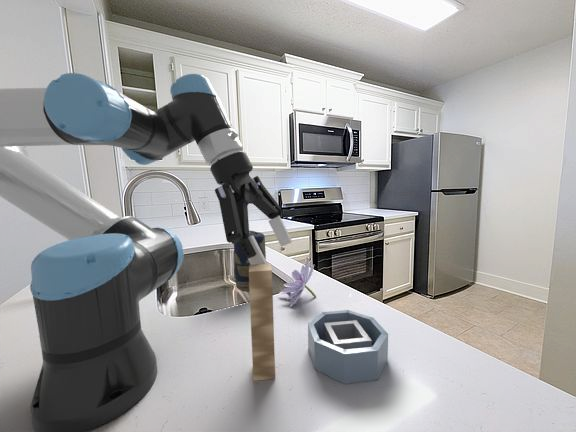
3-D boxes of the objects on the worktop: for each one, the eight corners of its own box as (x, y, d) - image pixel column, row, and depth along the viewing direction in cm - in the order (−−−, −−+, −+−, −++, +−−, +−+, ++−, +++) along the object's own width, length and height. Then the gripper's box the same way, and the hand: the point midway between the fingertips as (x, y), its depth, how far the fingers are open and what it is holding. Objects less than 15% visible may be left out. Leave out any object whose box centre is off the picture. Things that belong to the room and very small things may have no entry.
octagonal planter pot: (320, 387, 38) (320, 356, 37) (304, 336, 50) (304, 313, 50) (400, 377, 39) (400, 348, 39) (364, 330, 52) (365, 308, 51)
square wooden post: (253, 380, 39) (248, 271, 37) (253, 365, 43) (249, 264, 41) (275, 378, 39) (271, 270, 37) (273, 363, 43) (270, 263, 41)
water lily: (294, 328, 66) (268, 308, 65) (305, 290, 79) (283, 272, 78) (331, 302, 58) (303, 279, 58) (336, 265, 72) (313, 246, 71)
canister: (261, 295, 71) (259, 233, 69) (230, 293, 72) (227, 233, 70) (270, 282, 80) (268, 228, 78) (242, 281, 82) (240, 227, 80)
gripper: (199, 149, 34) (268, 281, 36) (267, 149, 57) (307, 230, 59) (164, 173, 37) (229, 294, 39) (242, 164, 60) (281, 241, 62)
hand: (276, 256), depth 49 cm, fingers open, 13 cm apart
